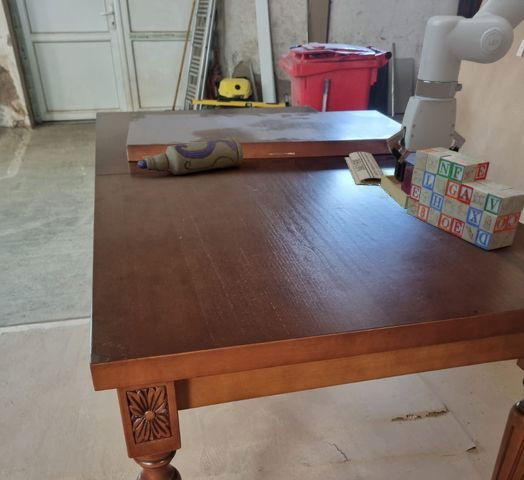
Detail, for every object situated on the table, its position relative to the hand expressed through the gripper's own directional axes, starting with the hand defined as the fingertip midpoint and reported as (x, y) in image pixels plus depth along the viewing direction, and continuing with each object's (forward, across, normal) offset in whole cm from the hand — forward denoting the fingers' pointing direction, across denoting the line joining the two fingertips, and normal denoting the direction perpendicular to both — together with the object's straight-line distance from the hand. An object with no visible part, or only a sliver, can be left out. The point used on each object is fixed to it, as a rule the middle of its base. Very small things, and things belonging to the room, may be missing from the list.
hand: (418, 179), depth 112 cm
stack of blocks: (+4, 0, +19) cm, 19 cm away
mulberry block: (+3, 0, 0) cm, 3 cm away
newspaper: (+4, +5, -20) cm, 21 cm away
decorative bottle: (+4, +47, -25) cm, 54 cm away
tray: (+4, 0, 0) cm, 4 cm away
